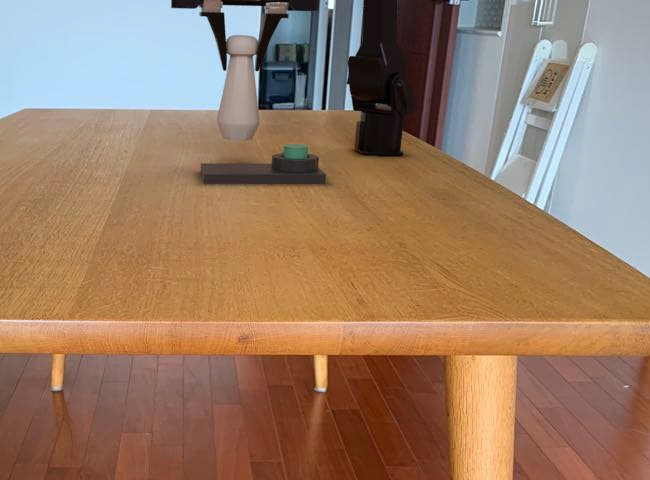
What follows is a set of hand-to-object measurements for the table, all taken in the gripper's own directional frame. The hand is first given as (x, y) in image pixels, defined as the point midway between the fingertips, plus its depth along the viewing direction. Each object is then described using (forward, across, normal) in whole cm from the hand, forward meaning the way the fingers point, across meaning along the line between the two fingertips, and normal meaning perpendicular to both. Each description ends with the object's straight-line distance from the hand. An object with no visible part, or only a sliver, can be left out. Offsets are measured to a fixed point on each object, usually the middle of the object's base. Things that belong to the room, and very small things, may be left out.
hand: (240, 70), depth 108 cm
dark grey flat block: (+13, -3, +5) cm, 14 cm away
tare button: (+11, -7, +5) cm, 14 cm away
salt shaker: (+9, 0, 0) cm, 9 cm away
